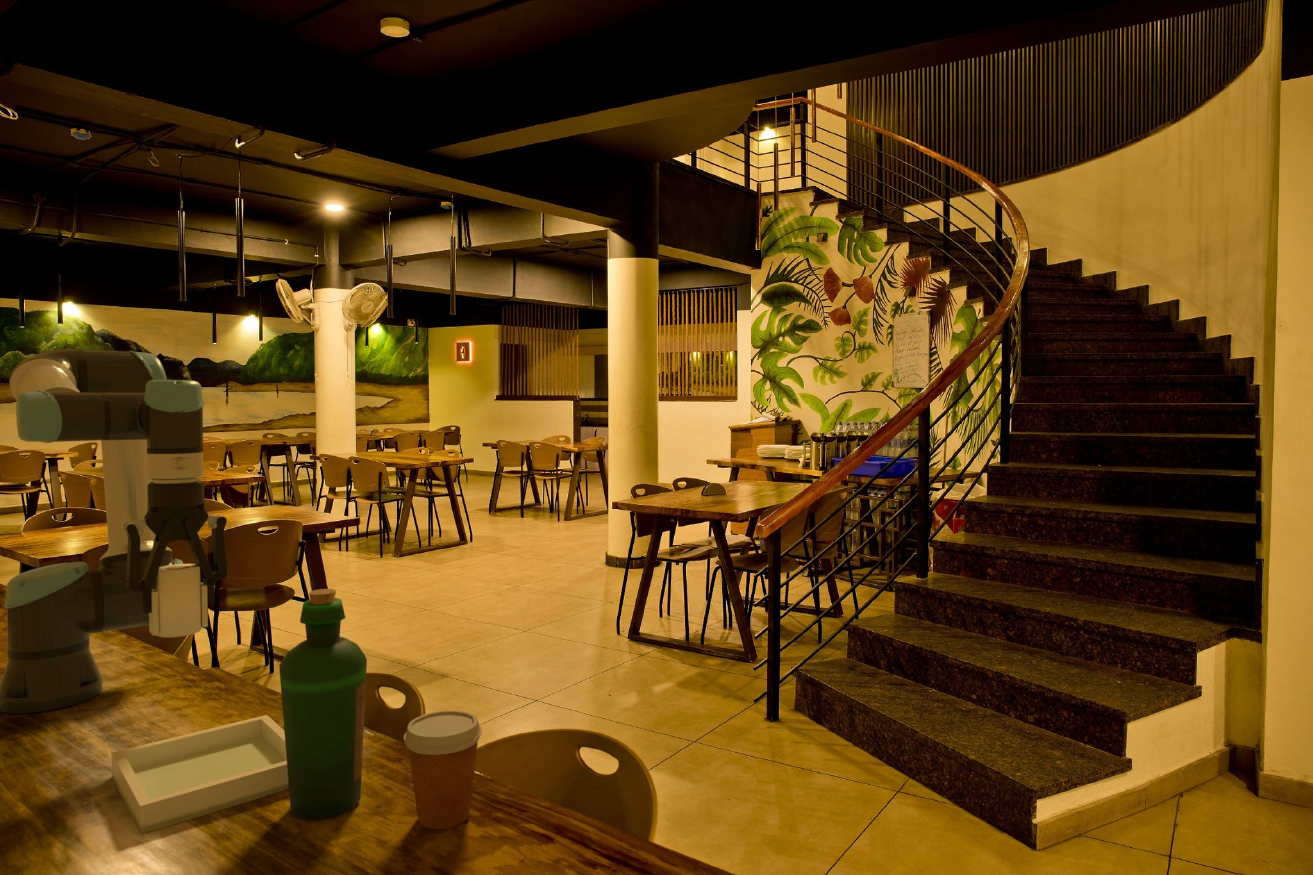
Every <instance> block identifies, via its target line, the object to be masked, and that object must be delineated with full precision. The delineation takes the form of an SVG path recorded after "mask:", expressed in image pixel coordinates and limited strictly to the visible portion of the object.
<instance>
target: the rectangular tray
mask: <svg viewBox="0 0 1313 875" xmlns="http://www.w3.org/2000/svg"><path fill="white" fill-rule="evenodd" d="M111 778H112V780H113V782H114V784H115V786H116V788H117V790H118V792H119V794H120V795H121V798H122V800H123V799H124V800H123V801H124V805H126V807H127V809H128V812H129V814H130V816H131V818H132V819H133V821H134V823H135V825H136V827H137V830H138V832H139V834H140V835H143V834H147V833H149V832H153V831H156V830H160V829H163V828H166V827H170V826H173V825H177V824H179V823H183V822H186V821H190V820H193V819H197V818H199V817H203V816H205V815H209V814H212V813H216V812H218V811H222V810H225V809H229V808H232V807H235V806H239V805H242V804H246V803H249V802H252V801H255V800H258V799H261V798H265V797H268V795H269V796H271V795H272V796H273V795H274V794H278V793H281V792H284V791H289V783H288V770H287V758H286V745H285V732H284V728H282V726H280V725H279V724H278V723H276V722H275V721H274V720H273V719H272V717H270V716H269V715H268V714H264V715H261V716H257V717H254V718H253V717H252V718H248V719H244V720H241V721H236V722H233V723H229V724H225V725H220V726H214V727H211V728H208V729H204V730H199V731H196V732H190V733H187V734H182V735H179V736H175V737H169V738H166V739H162V740H158V741H154V742H149V743H145V744H142V745H138V746H134V747H133V746H132V747H129V748H124V749H120V750H116V751H113V752H111Z"/></svg>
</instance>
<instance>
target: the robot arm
mask: <svg viewBox="0 0 1313 875" xmlns="http://www.w3.org/2000/svg"><path fill="white" fill-rule="evenodd" d="M8 381H9V390H10V392H11V394H12V396H13V398H14V400H16V403H15V404H16V408H15V409H16V410H15V411H16V412H15V414H16V416H15V417H16V429H17V436H18V437H19V438H18V439H20V440H21V441H23V442H27V443H28V442H29V443H30V442H31V443H34V442H35V443H36V442H37V443H38V442H39V443H46V444H49V443H50V444H51V443H57V442H58V443H59V442H87V441H88V442H90V441H100V442H101V443H100V444H101V445H100V446H101V458H102V469H103V470H102V471H103V485H104V498H105V511H106V512H105V513H106V514H105V515H106V527H107V528H106V529H107V542H108V543H107V544H108V549H107V550H106V551H105V553H104V554H102V556H100V558H99V568H98V567H97V568H89V565H88V564H87V562H84V561H72V562H62V563H56V564H49V565H45V566H42V567H37V568H34V569H30V570H27V571H24V572H21V573H19V574H17V575H15V576H14V577H12V578H11V579H10V580H9V581H8V582H7V584H6V592H5V603H4V608H5V609H6V633H7V634H6V638H7V639H6V645H7V647H6V648H7V649H6V650H7V661H6V665H5V668H4V671H3V673H2V676H1V679H0V712H2V713H7V714H29V713H30V714H31V713H41V712H47V711H51V710H57V709H62V708H66V707H69V706H74V705H76V704H79V703H83V702H85V701H88V700H90V699H93V698H94V697H96V696H98V695H99V694H101V692H102V691H103V676H102V674H101V671H100V669H99V667H98V665H97V663H96V661H95V658H94V655H93V654H92V652H91V648H90V646H91V645H90V635H92V634H96V633H104V632H110V631H116V630H118V631H119V630H123V629H124V630H125V629H129V628H130V629H131V628H137V627H143V626H147V627H149V629H148V630H149V633H150V634H151V635H152V636H157V635H159V615H158V592H157V591H156V590H155V579H156V576H157V573H158V570H159V567H163V566H168V565H176V564H184V562H183V560H182V559H178V558H173V550H172V549H171V548H170V547H168V546H169V545H168V544H169V543H172V542H173V543H174V542H176V541H184V542H185V541H186V542H187V543H188V545H189V548H190V551H191V553H192V555H193V558H194V561H195V564H197V565H199V566H200V578H201V579H202V581H203V582H200V585H201V628H208V627H209V617H208V609H209V608H208V606H209V605H211V604H213V605H214V602H215V584H216V583H217V582H218V581H219V580H223V579H226V578H227V577H228V569H227V568H228V567H227V555H226V545H225V542H226V541H225V533H224V532H225V528H226V525H227V520H228V519H227V518H226V517H225V516H223V515H219V514H218V515H213V514H209V513H208V511H207V509H206V507H205V482H203V480H200V479H201V478H202V477H204V476H205V474H204V473H205V472H204V470H205V469H204V468H205V467H204V465H205V464H204V420H203V419H204V413H203V412H204V411H203V410H204V408H203V407H204V406H205V402H204V400H203V392H202V391H203V390H202V389H203V388H202V385H201V384H200V383H199V382H198V381H196V380H189V379H188V380H187V379H182V380H181V379H167V375H166V372H165V369H164V366H163V364H162V362H161V360H160V359H159V358H158V357H157V355H154V354H153V353H149V352H139V351H133V350H127V351H125V350H124V351H123V350H98V349H97V350H93V349H73V348H66V349H54V350H53V349H52V350H49V351H43V352H40V353H37V354H33V355H32V356H30V357H27V358H25V359H23V360H22V361H20V362H19V363H18V364H17V365H16V366H15V367H14V368H13V369H12V371H11V373H10V375H9V380H8ZM206 522H207V523H208V524H207V525H208V528H210V529H211V544H212V554H213V565H214V566H213V567H214V568H213V569H214V571H212V568H211V566H210V563H209V560H208V558H207V555H206V553H205V550H204V547H203V545H202V540H201V537H200V536H199V531H200V530H201V529H202V528H203V526H204V525H205V524H206Z"/></svg>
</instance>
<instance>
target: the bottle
mask: <svg viewBox="0 0 1313 875" xmlns="http://www.w3.org/2000/svg"><path fill="white" fill-rule="evenodd" d="M336 592H337V591H336V589H333V588H320V589H319V588H318V589H315V590H311V591H309V592H308V594H309V595H308V596H309V599H308V600H306V601H304V602H303V603H302V609H301V611H300V612H301V614H300V619H299V621H300V623H301V624H303V625H304V628H305V636H306V639H305V640H302V641H301V642H300V643H298V644H297V645H296V646H294V647H292V649H290V650H288V651H287V652H286V654H285V656H284V657H283V659H282V660H281V662H280V663H279V679H280V691H281V693H280V694H281V706H282V717H283V730H284V732H285V745H286V758H287V770H288V783H289V789H288V793H289V794H288V796H289V805H290V806H289V809H290V813H291V814H293V815H295V816H297V817H299V818H302V819H311V820H312V819H313V820H321V819H326V818H331V817H335V816H338V815H340V814H342V813H344V812H347V811H348V810H350V809H352V808H353V807H354V806H355V805H356V804H357V803H358V802H359V801H360V800H361V798H362V797H361V795H362V776H363V775H362V774H363V753H364V752H363V751H364V735H365V734H364V730H365V729H364V728H365V712H366V711H365V709H366V686H367V667H368V666H367V665H368V659H367V656H366V654H365V653H364V651H363V650H362V648H360V646H359V645H358V643H356V642H354V641H352V640H350V639H349V638H347V637H344V636H343V637H342V636H340V635H341V623H342V621H343V620H344V619H346V614H345V610H344V606H343V601H342V598H340V597H339V598H338V597H336Z"/></svg>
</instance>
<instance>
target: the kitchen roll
mask: <svg viewBox="0 0 1313 875" xmlns="http://www.w3.org/2000/svg"><path fill="white" fill-rule="evenodd" d="M200 583H201V574H200V566H199V565H197V564H196V563H183V564H176V565H168V566H163V567H159V570H158V573H157V576H156V579H155V590H156V591H157V592H158V615H159V635H156V636H157V637H160V638H179V637H186V636H190V635H193V634H197V633H199V632H201V631H202V627H201V585H200Z"/></svg>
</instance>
